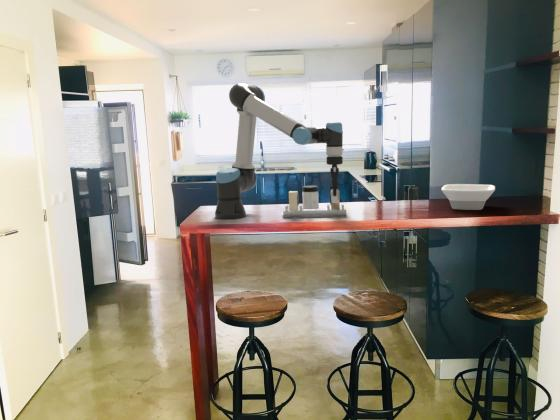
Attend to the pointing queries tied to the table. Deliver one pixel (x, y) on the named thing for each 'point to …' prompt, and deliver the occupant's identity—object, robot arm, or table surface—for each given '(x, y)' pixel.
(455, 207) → the bowl
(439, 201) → the table surface
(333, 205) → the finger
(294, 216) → the rail
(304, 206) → the jar
